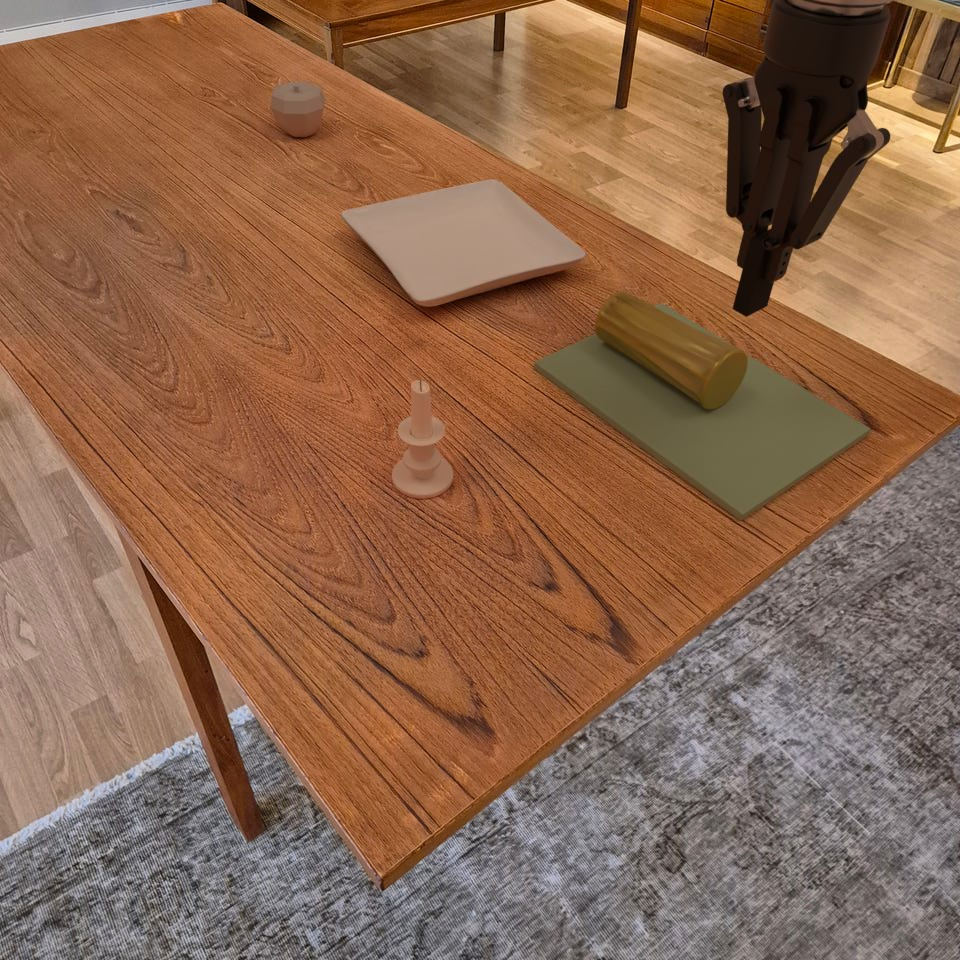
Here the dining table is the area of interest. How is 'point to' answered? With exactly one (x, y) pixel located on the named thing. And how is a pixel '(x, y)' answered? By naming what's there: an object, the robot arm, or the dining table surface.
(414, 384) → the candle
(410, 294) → the plate
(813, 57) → the robot arm
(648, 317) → the fluted gold cylinder
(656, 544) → the dining table surface
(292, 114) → the apple
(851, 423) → the mat
